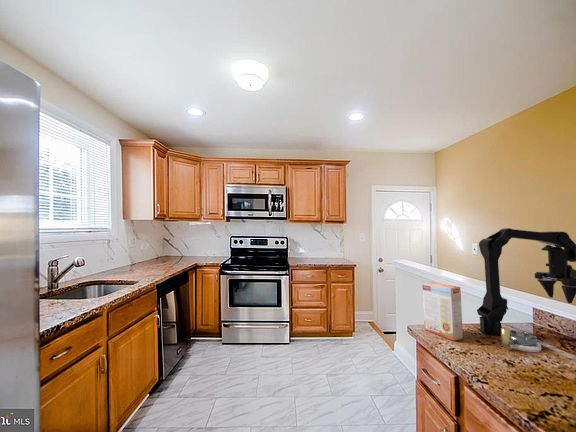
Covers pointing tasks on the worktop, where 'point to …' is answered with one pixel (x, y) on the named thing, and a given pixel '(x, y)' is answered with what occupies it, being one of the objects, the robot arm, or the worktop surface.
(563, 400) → the worktop surface
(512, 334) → the grey piece
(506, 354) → the worktop surface
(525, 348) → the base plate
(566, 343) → the worktop surface
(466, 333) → the worktop surface
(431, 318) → the cracker box
